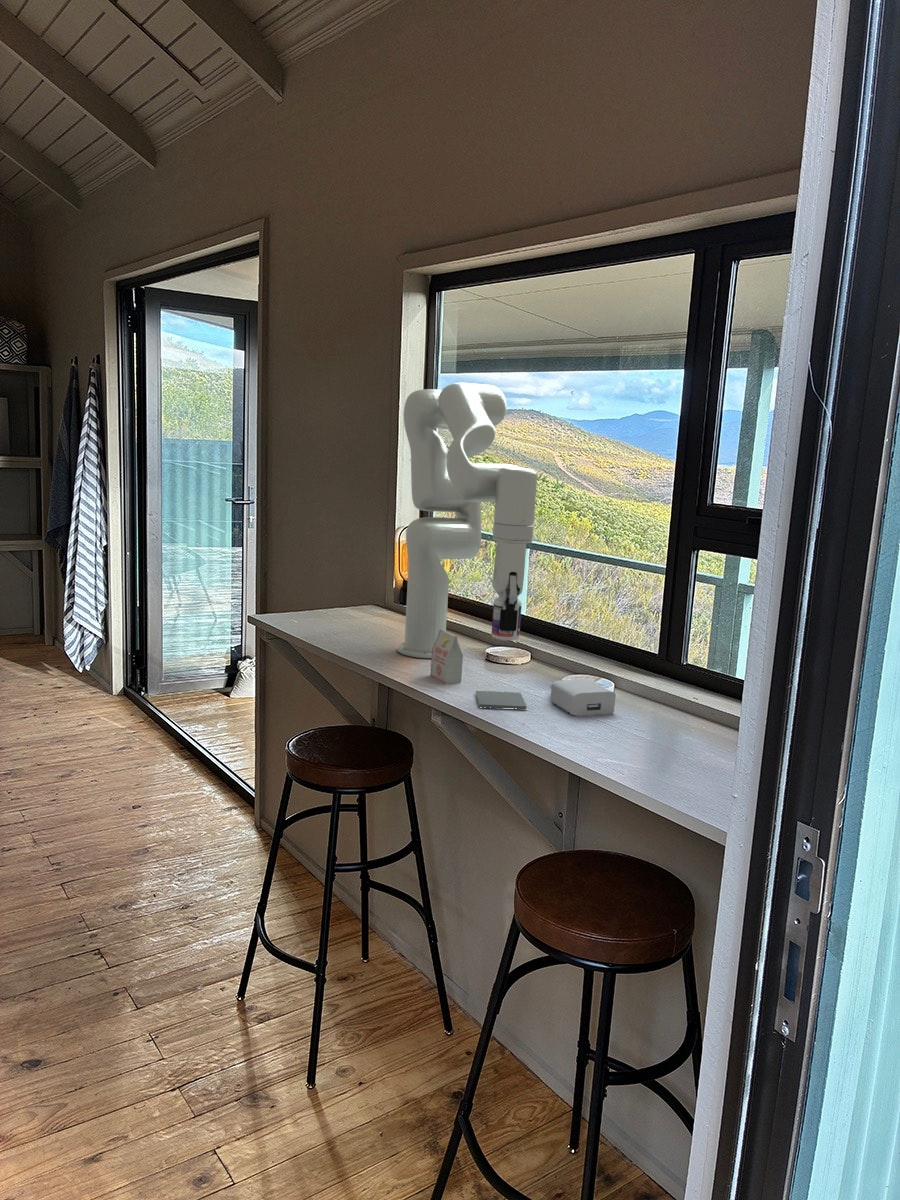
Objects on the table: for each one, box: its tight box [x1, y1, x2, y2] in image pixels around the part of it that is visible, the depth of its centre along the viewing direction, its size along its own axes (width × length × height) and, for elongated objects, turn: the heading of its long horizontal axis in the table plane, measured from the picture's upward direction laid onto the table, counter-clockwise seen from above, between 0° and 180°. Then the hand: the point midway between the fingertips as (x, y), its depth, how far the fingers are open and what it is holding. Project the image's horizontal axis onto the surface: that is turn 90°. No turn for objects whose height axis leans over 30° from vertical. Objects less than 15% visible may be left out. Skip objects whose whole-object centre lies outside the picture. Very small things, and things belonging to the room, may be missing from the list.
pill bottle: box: [491, 588, 522, 641], centre depth 175 cm, size 5×5×10 cm
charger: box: [548, 678, 616, 716], centre depth 180 cm, size 5×9×15 cm
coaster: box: [475, 690, 528, 710], centre depth 178 cm, size 9×9×1 cm
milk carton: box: [430, 629, 464, 685], centre depth 191 cm, size 4×7×10 cm, turn 29°
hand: (505, 625), depth 175 cm, fingers closed on pill bottle, 5 cm apart
